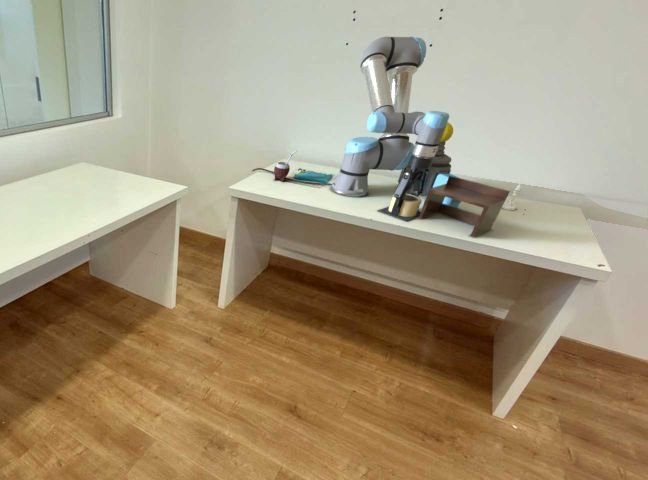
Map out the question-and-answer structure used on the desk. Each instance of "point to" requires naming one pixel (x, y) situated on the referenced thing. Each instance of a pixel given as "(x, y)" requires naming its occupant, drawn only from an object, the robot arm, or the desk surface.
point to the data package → (442, 180)
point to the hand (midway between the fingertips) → (402, 211)
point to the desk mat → (398, 215)
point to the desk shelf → (468, 193)
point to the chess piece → (511, 200)
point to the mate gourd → (282, 169)
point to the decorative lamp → (435, 163)
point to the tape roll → (407, 205)
